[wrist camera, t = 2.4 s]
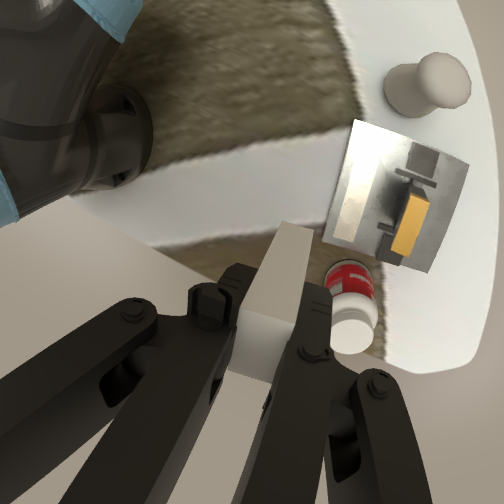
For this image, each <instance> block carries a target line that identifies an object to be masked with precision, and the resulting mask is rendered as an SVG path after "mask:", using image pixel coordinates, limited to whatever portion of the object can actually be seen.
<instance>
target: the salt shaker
mask: <svg viewBox="0 0 504 504" xmlns="http://www.w3.org/2000/svg"><path fill="white" fill-rule="evenodd" d="M384 91H385V94H386V97H387V99H388V102H389V103H390V104H391V105H392V106H393V108H394V109H395V110H396V111H397V112H399V113H401V114H403V115H405V116H407V117H409V118H421V117H423V116H425V115H427V114H429V113H431V112H432V111H434V110H435V109H436V108H438V107H440V108H448V109H455V108H457V107H459V106H461V105H463V104H465V103H466V102H467V100H468V98H469V97H470V95H471V80H470V77H469V75H468V72H467V70H466V69H465V67H464V66H463V65H462V64H461V62H460V61H459V60H458V59H456V58H454V57H453V56H451V55H449V54H446V53H439V52H434V53H431V54H429V55H427V56H425V57H423V58H422V59H421V61H420V62H419V63H415V64H400V65H398V66H396V67H394V68H392V69H391V70H390V71H389V73H388V75H387V76H386V78H385V85H384Z"/></svg>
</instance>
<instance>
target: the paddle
mask: <svg viewBox="0 0 504 504" xmlns="http://www.w3.org/2000/svg"><path fill="white" fill-rule="evenodd" d="M422 186H423V183H422V182H420V181H417V180H414V179H413V181H412V184H410V185H409V188H408V191H407V194H406V197H405V200H404V203H403V206H402V209H401V212H400V214H399V217H398V220H397V223H396V225H395V230H394V237H393V243H392V246H391V250H392V251H394V252H396V253H399V254H401V255H403V256H406V257H409V255H410V253H411V250H412V248H413V246H414V243H415V241H416V239H417V236H418V234H419V231H420V229H421V226H422V223H423V221H424V218H425V215H426V213H427V210H428V207H429V204H430V202H429V200H428V198H427V196H426V194H425V191H424V189H422Z"/></svg>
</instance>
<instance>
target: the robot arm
mask: <svg viewBox="0 0 504 504" xmlns="http://www.w3.org/2000/svg"><path fill="white" fill-rule="evenodd" d="M142 6H143V0H0V228H1V227H3V226H5V225H7V224H10V223H12V222H17V221H19V219H21V218H23V217H25V216H26V215H28V214H30V213H32V212H34V211H36V210H38V209H40V208H42V207H43V206H46V205H48V204H50V203H51V202H54V201H56V200H58V199H60V198H62V197H64V196H66V195H68V194H71V193H73V192H75V191H77V190H80V189H90V190H110V189H115V188H118V187H120V186H122V185H125V184H127V183H129V182H131V181H132V180H133V179H135V178H136V177H137V176H138V175H139V173H140V172H141V171H142V169H143V168H144V166H145V164H146V162H147V160H148V157H149V154H150V151H151V146H152V136H153V132H152V122H151V118H150V114H149V111H148V109H147V106H146V104H145V103H144V101H143V100H142V98H141V97H140V96H139V95H138V94H137V93H136V92H135V91H133V90H132V89H130V88H128V87H126V86H122V85H102V86H98V87H97V85H98V83H99V81H100V79H101V77H102V75H103V73H104V71H105V70H106V68H107V66H108V64H109V62H110V61H111V59H112V57H113V55H114V54H115V52H116V50H117V49H118V47H119V45H120V44H121V43H122V44H123V43H124V41H125V36H126V34H127V32H128V31H129V29H130V27H131V25H132V24H133V22H134V20H135V19H136V17H137V16H138V14H139V12H140V11H141V9H142ZM313 232H314V230H312V229H308V228H305V227H301V226H298V225H294V224H290V223H287V222H283V221H282V222H281V225H280V227H279V229H278V231H277V233H276V235H275V237H274V239H273V241H272V243H271V245H270V247H269V249H268V251H267V253H266V255H265V257H264V259H263V261H262V263H261V265H260V267H259V269H257V268H253V267H250V266H246V265H243V264H240V263H236V264H234V265H232V266H230V267H228V268H227V269H226V271H225V272H224V274H223V275H222V277H221V278H220V279H219V281H218V283H212V282H210V283H200V284H197V285H194V286H193V287H192V288H190V289H189V290H188V308H187V315H185V316H169V315H161V314H157V310H156V307H155V306H154V305H153V304H152V303H151V302H150V301H148V300H145V299H142V298H135V297H134V298H127V299H124V300H122V301H119V302H118V303H116V304H114V305H113V306H111V307H110V308H108V309H107V310H105V311H103V312H102V313H100V314H99V315H97V316H95V317H94V318H92V319H91V320H89V321H88V322H86V323H84V324H83V325H81V326H80V327H78V328H77V329H75V330H74V331H72V332H70V333H69V334H67V335H66V336H64V337H63V338H61V339H60V340H58V341H57V342H55V343H54V344H52V345H50V346H49V347H48V348H46V349H44V350H43V351H41V352H40V353H38V354H37V355H36V356H34V357H32V358H31V359H29V360H28V361H26V362H25V363H23V364H22V365H20V366H19V367H18V368H16V369H14V370H13V371H12V372H10V373H9V374H7V375H6V376H4V377H3V378H1V379H0V504H10V503H11V502H13V501H14V500H15V499H17V498H18V497H19V496H20V495H22V494H23V493H24V492H26V491H27V490H28V489H29V488H31V487H32V486H33V485H34V484H36V483H37V482H38V481H39V480H41V479H42V478H43V477H45V476H46V475H47V474H48V473H50V472H51V471H52V470H53V469H54V468H56V467H57V466H58V465H59V464H60V463H62V462H63V461H64V460H65V459H67V458H68V457H69V456H70V455H71V454H73V453H74V452H75V451H76V450H77V449H78V448H80V447H81V446H82V445H83V444H84V443H86V442H87V441H88V440H89V439H91V438H92V437H93V436H94V435H95V434H96V433H98V432H99V431H100V430H101V429H102V428H103V427H105V426H106V424H108V423H109V422H110V421H111V420H113V419H114V420H113V421H112V423H111V424H110V426H109V427H108V429H107V430H106V432H105V433H104V435H103V436H102V438H101V439H100V441H99V442H98V444H97V445H96V447H95V448H94V450H93V451H92V453H91V454H90V456H89V457H88V459H87V460H86V462H85V463H84V465H83V466H82V468H81V469H80V471H79V472H78V474H77V475H76V477H75V479H74V480H73V482H72V483H71V485H70V486H69V488H68V489H67V491H66V492H65V494H64V496H63V497H62V499H61V500H60V502H59V503H58V504H166V503H167V501H168V499H169V497H170V495H171V493H172V491H173V489H174V487H175V485H176V483H177V480H178V478H179V476H180V474H181V472H182V470H183V468H184V466H185V464H186V462H187V460H188V457H189V455H190V453H191V451H192V449H193V447H194V444H195V442H196V440H197V438H198V436H199V434H200V431H201V429H202V427H203V425H204V423H205V421H206V418H207V416H208V414H209V412H210V410H211V407H212V405H213V403H214V400H215V398H216V396H217V394H218V392H219V390H220V387H221V385H222V382H223V376H224V373H225V371H226V369H227V366H228V370H230V371H233V372H236V373H239V374H242V375H245V376H248V377H251V378H255V379H258V380H261V381H265V382H268V383H271V384H272V386H271V389H270V391H269V394H268V396H267V398H266V401H265V403H264V405H263V408H262V409H263V412H262V415H261V418H260V421H259V424H258V428H257V431H256V434H255V437H254V440H253V443H252V446H251V449H250V452H249V455H248V458H247V461H246V464H245V466H244V470H243V472H242V475H241V478H240V481H239V483H238V486H237V489H236V492H235V494H234V497H233V500H232V502H231V504H315V499H316V495H317V489H318V485H319V479H320V474H321V468H322V462H323V456H324V461H325V470H326V480H327V490H328V502H329V504H433V503H432V498H431V494H430V489H429V485H428V481H427V477H426V473H425V469H424V465H423V461H422V458H421V454H420V451H419V447H418V443H417V440H416V437H415V433H414V430H413V427H412V423H411V420H410V417H409V414H408V411H407V408H406V405H405V402H404V399H403V396H402V393H401V390H400V388H399V386H398V384H397V382H396V380H395V379H394V378H393V377H392V376H391V375H390V374H389V373H387V372H385V371H383V370H380V369H375V368H372V369H367V370H365V371H363V372H362V373H360V374H358V373H356V372H354V371H352V370H350V369H348V368H346V367H345V366H343V365H341V364H340V363H339V362H338V361H337V360H336V358H335V357H334V351H333V350H332V348H331V347H330V340H331V326H332V307H333V296H332V295H331V293H330V291H329V289H328V288H326V287H323V286H319V285H316V284H312V283H309V282H305V281H304V280H305V275H306V270H307V265H308V260H309V254H310V249H311V243H312V238H313ZM228 364H229V365H228Z"/></svg>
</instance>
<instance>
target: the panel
mask: <svg viewBox="0 0 504 504" xmlns="http://www.w3.org/2000/svg"><path fill="white" fill-rule="evenodd" d="M468 168H469V164H467V163H465V162H463V161H461V160H459V159H457V158H454V157H452V156H450V155H448V154H446V153H444V152H441V151H439V150H437V149H435V148H432V147H430V146H428V145H425V144H423V143H420V142H418V141H415V140H413V139H410V138H408V137H405V136H402V135H400V134H397V133H394V132H391V131H389V130H386V129H383V128H380V127H377V126H374V125H371V124H368V123H365V122H361V121H358V120H353V122H352V127H351V131H350V135H349V139H348V143H347V147H346V151H345V155H344V159H343V163H342V167H341V171H340V175H339V178H338V182H337V186H336V189H335V193H334V197H333V200H332V204H331V207H330V211H329V214H328V218H327V221H326V224H325V228H324V231H323V234H322V242H326V243H329V244H333V245H336V246H340V247H343V248H347V249H350V250H353V251H357V252H360V253H363V254H367V255H370V256H374V257H376V259H377V260H380V261H383V262H387V263H390V264H393V265H397V266H399V265H403V266H406V267H409V268H412V269H416V270H419V271H422V272H425V273H428V271H429V269H430V267H431V265H432V263H433V261H434V259H435V257H436V254H437V252H438V250H439V248H440V245H441V243H442V241H443V238H444V236H445V234H446V231H447V229H448V226H449V224H450V221H451V219H452V216H453V213H454V211H455V208H456V205H457V202H458V199H459V197H460V194H461V191H462V188H463V185H464V181H465V178H466V175H467V172H468ZM413 179H414V180H417V181H420V182H422V183H423V186H422V189H424V191H425V194H426V196H427V198H428V200H429V202H430V204H429V207H428V210H427V213H426V215H425V218H424V221H423V223H422V226H421V229H420V231H419V234H418V236H417V239H416V241H415V243H414V246H413V248H412V250H411V253H410V255H409V257H406V256H403V255H401V254H399V253H396V252H394V251H392V250H391V246H392V243H393V237H394V230H395V225H396V223H397V220H398V217H399V214H400V212H401V209H402V206H403V203H404V200H405V197H406V194H407V191H408V188H409V185H410V184H412V181H413Z"/></svg>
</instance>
